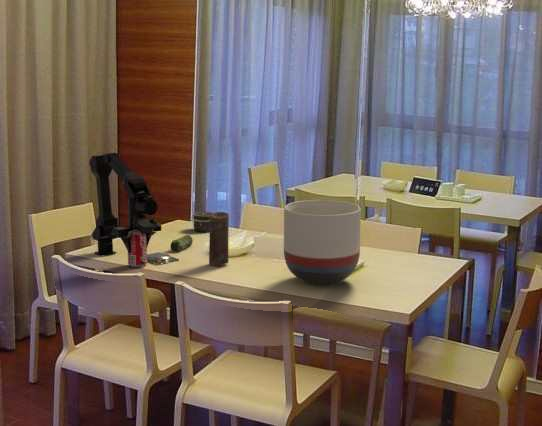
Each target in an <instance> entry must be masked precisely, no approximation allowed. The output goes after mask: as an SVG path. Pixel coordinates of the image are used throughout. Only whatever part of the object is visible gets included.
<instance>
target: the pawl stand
mask: <svg viewBox="0 0 542 426" xmlns="http://www.w3.org/2000/svg"><path fill="white" fill-rule="evenodd" d="M147 261H149V262H148V263H150V262H152V263H155V264H161V263H166V262H170V263H174V261H175V262H179V261H180V259H179V258H176V257H174V256H171V255H170V254H169V253H164V252H163V253H162V252H159V251H158V252H152V253H147ZM152 263H151V264H152ZM155 264H154V265H155ZM166 264H167V263H166ZM161 265H162V264H161Z"/></svg>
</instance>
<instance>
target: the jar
mask: <svg viewBox="0 0 542 426" xmlns="http://www.w3.org/2000/svg"><path fill="white" fill-rule="evenodd" d="M212 213H213V212H211V211H201V212H195V213H193V216H192V220H193V230H194V231H195V232H196V233H200V234H201V233H202V234H203V233H205V234H207V233H209V234H210V215H211V214H212Z"/></svg>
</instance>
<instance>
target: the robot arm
mask: <svg viewBox="0 0 542 426" xmlns="http://www.w3.org/2000/svg"><path fill="white" fill-rule="evenodd" d="M89 167H90V171H91V173H92V174H93V176H94V177H95V180H96V193H97V194H96V195H97V202H98V203H97V204H98V216H97V219H96V221H95V228H94V229H93V231H92V233H91V237H92V239H93V240H95V241H97V251H94V254H96V253H97V254H96V255H98V254H99V256H101V255H106V256H110V255H109V254H111V255H115V253H116V254H117V251H114V243H113V239H117V238H120V240H121V241H122V242H123V244H124V247H125V248H126V251H127V254H128V253H131V238H132V237H131V236H130V233H133V232H139V231H140V233H141V234H146V238H147V248H148V247H149V243H150V240H151V238H152V236H154V235H155V234H156V233H157V232H161V231H162V225H161V223H160V222H158V221H157V219H156V218H151V219H147V216H153V215H155V214H156V213H157V212H158V208H159V207H158V203H157V202H156V200H154V199H153V196H152V193H151V190H150V188H149V185H148V183H147V182H146V180H145V178H143V176H141V175H140V174H139V173H136V172H134V171H132V170H131V169H130V167H128V165H127V164H126V163H125V162H124V161H123V159H121V157H120V155H119V153H117V152H107V153H104V154H98V155H92V156H91V158H90V159H89ZM112 171H113V172H114V173H115V174H116V175H117V176H118V177H119V178H120V180H121V182H122V187H123V189H124V191H125V192H126V193H127V194H126V195H125V199H127V204H128V205H127V206H128V212H126V217H128V223H126V227H123V226H119V220H118V218H117V217H115V215H114V214H113V210H112V199H111V198H112V197H111V190H110V188H111V187H110V176H111V173H112Z"/></svg>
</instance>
